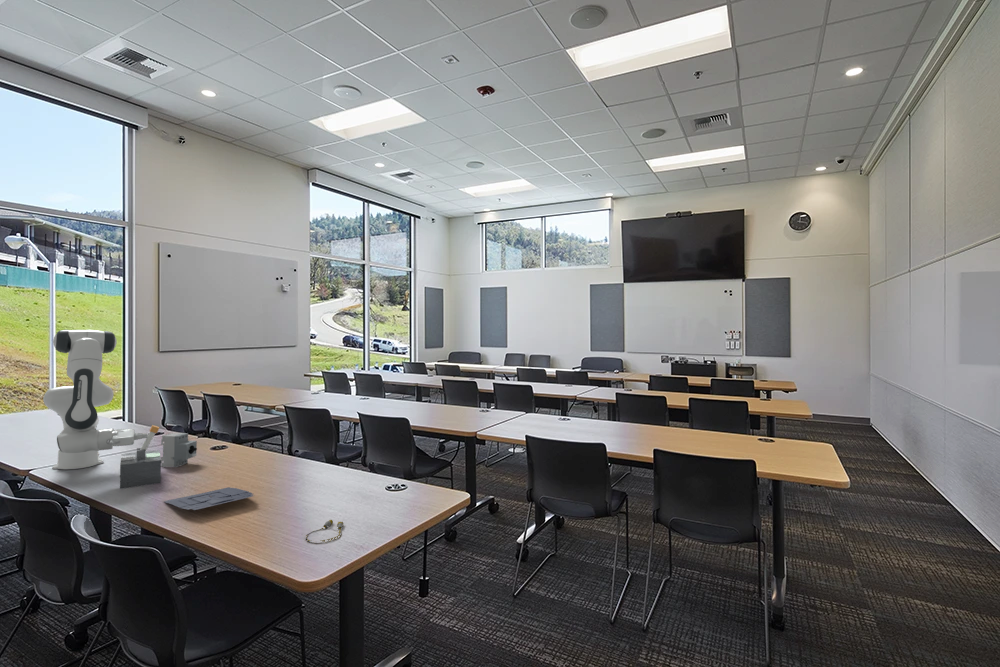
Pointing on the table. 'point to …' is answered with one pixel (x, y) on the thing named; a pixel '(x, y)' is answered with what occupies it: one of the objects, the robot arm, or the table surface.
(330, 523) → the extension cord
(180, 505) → the dark blue panel
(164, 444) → the circuit breaker
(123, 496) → the table surface
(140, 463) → the box
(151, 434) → the lever
